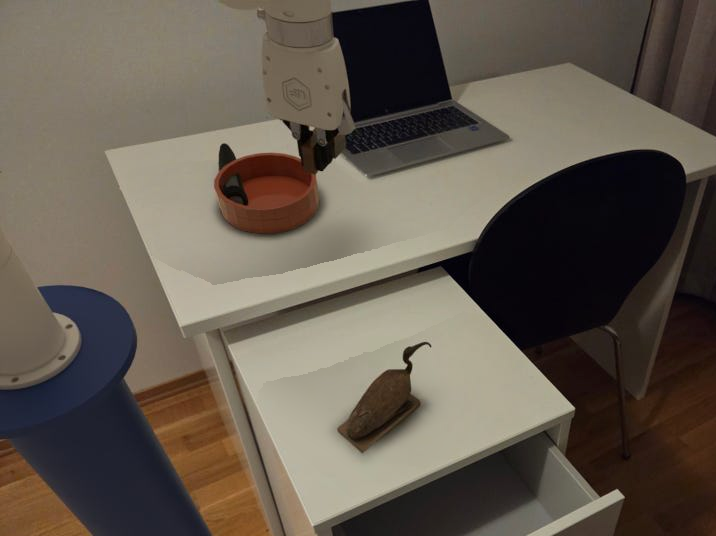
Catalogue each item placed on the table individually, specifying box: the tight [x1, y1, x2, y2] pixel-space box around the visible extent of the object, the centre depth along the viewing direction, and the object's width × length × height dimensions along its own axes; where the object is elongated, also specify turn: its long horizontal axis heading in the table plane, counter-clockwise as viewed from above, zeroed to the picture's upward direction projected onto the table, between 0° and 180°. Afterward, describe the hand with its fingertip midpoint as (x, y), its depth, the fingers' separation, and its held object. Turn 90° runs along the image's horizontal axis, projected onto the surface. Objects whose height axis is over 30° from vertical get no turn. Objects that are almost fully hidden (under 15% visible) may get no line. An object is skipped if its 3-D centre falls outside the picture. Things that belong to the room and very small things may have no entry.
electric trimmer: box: [218, 142, 248, 206], centre depth 105 cm, size 4×16×3 cm, turn 20°
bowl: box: [213, 152, 320, 234], centre depth 102 cm, size 15×15×4 cm
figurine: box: [336, 341, 432, 454], centre depth 76 cm, size 14×4×9 cm, turn 140°
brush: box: [302, 127, 347, 176], centre depth 89 cm, size 8×4×4 cm, turn 164°
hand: (317, 163), depth 89 cm, fingers closed on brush
